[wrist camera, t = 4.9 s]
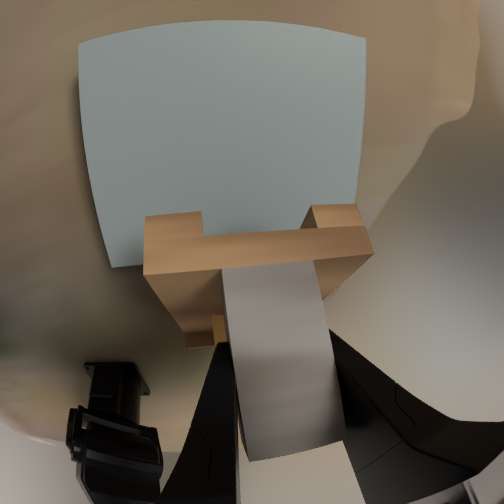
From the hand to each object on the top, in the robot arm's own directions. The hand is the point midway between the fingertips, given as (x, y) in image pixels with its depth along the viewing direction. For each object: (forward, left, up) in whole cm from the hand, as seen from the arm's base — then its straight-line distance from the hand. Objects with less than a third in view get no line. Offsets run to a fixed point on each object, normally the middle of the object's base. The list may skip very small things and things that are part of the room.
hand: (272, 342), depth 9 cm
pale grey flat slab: (+5, 0, -12) cm, 13 cm away
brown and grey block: (-1, 0, -6) cm, 6 cm away
